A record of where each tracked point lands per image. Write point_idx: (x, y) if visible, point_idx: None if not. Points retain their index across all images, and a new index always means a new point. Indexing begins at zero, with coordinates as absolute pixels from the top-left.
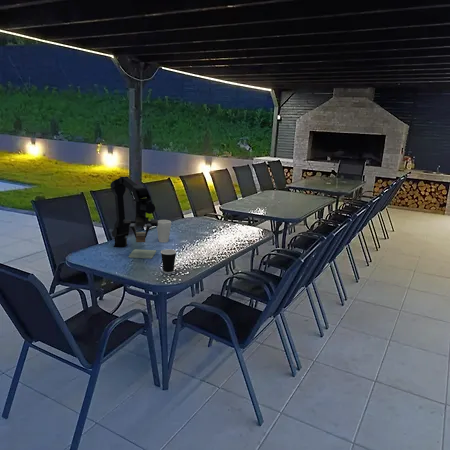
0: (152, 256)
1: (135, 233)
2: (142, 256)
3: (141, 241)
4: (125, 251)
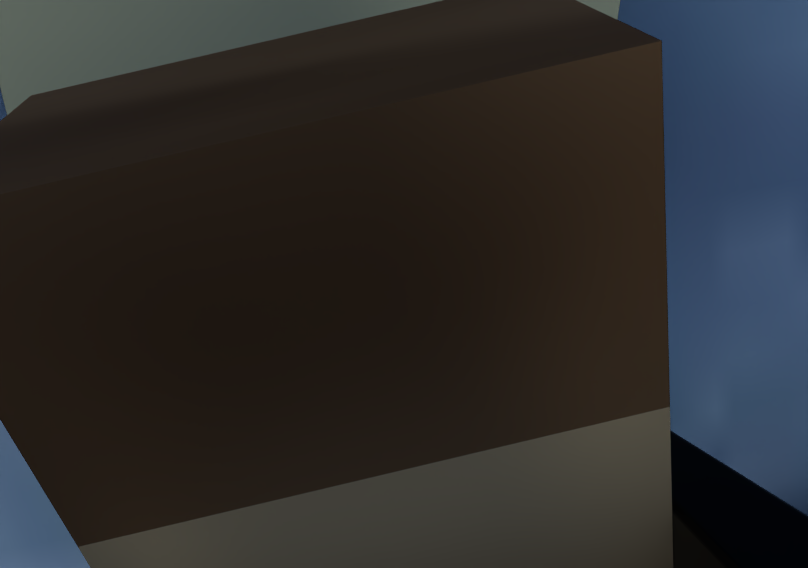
0: (4, 90)
1: (762, 565)
2: (259, 21)
3: (232, 59)
4: (699, 361)
